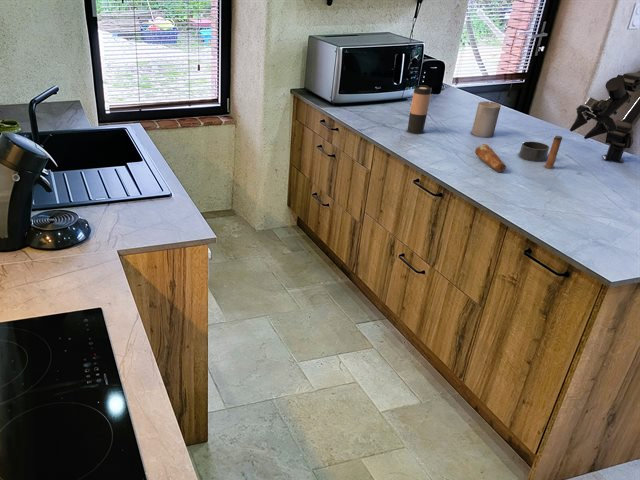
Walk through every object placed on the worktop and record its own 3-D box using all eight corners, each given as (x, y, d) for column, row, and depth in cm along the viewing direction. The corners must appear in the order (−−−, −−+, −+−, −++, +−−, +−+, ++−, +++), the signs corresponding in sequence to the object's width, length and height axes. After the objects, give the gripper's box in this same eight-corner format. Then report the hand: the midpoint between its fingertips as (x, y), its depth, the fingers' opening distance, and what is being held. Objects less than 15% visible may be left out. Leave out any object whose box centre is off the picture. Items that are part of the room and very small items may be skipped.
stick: (545, 165, 240) (554, 135, 233) (552, 166, 239) (562, 136, 232) (545, 167, 238) (554, 137, 231) (552, 168, 237) (562, 138, 230)
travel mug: (405, 132, 273) (413, 88, 263) (408, 128, 279) (415, 84, 268) (422, 134, 271) (430, 90, 260) (424, 130, 277) (433, 86, 266)
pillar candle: (482, 130, 279) (490, 97, 271) (498, 136, 272) (506, 102, 263) (466, 132, 275) (474, 99, 267) (482, 138, 268) (490, 105, 260)
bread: (487, 156, 248) (490, 143, 245) (506, 173, 232) (510, 159, 229) (472, 156, 247) (475, 143, 244) (491, 173, 231) (494, 159, 228)
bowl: (519, 151, 254) (522, 140, 251) (545, 155, 250) (549, 143, 248) (518, 159, 246) (521, 147, 243) (545, 163, 242) (549, 151, 240)
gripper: (587, 83, 231) (553, 114, 236) (619, 96, 216) (582, 128, 221) (600, 102, 236) (566, 132, 241) (632, 116, 221) (595, 147, 226)
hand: (577, 134), depth 232 cm, fingers open, 9 cm apart
